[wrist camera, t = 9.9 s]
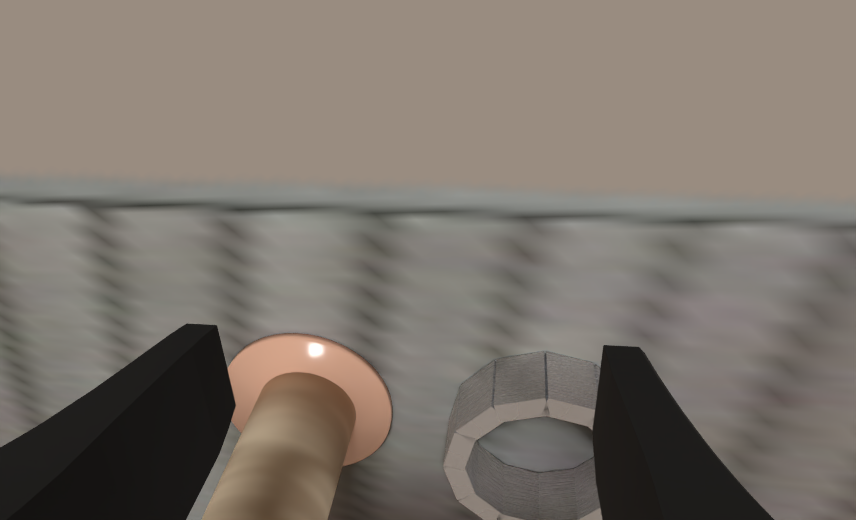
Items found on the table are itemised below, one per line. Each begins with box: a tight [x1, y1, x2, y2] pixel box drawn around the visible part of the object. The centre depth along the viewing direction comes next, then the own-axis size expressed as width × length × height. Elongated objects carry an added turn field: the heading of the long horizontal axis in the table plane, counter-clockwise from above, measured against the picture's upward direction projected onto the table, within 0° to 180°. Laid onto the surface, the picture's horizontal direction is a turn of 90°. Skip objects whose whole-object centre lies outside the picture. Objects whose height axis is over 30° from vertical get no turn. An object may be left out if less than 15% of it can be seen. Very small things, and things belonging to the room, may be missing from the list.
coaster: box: [228, 333, 392, 466], centre depth 28 cm, size 7×7×1 cm
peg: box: [202, 372, 356, 520], centre depth 25 cm, size 4×4×7 cm
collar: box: [443, 351, 602, 520], centre depth 26 cm, size 7×7×2 cm
